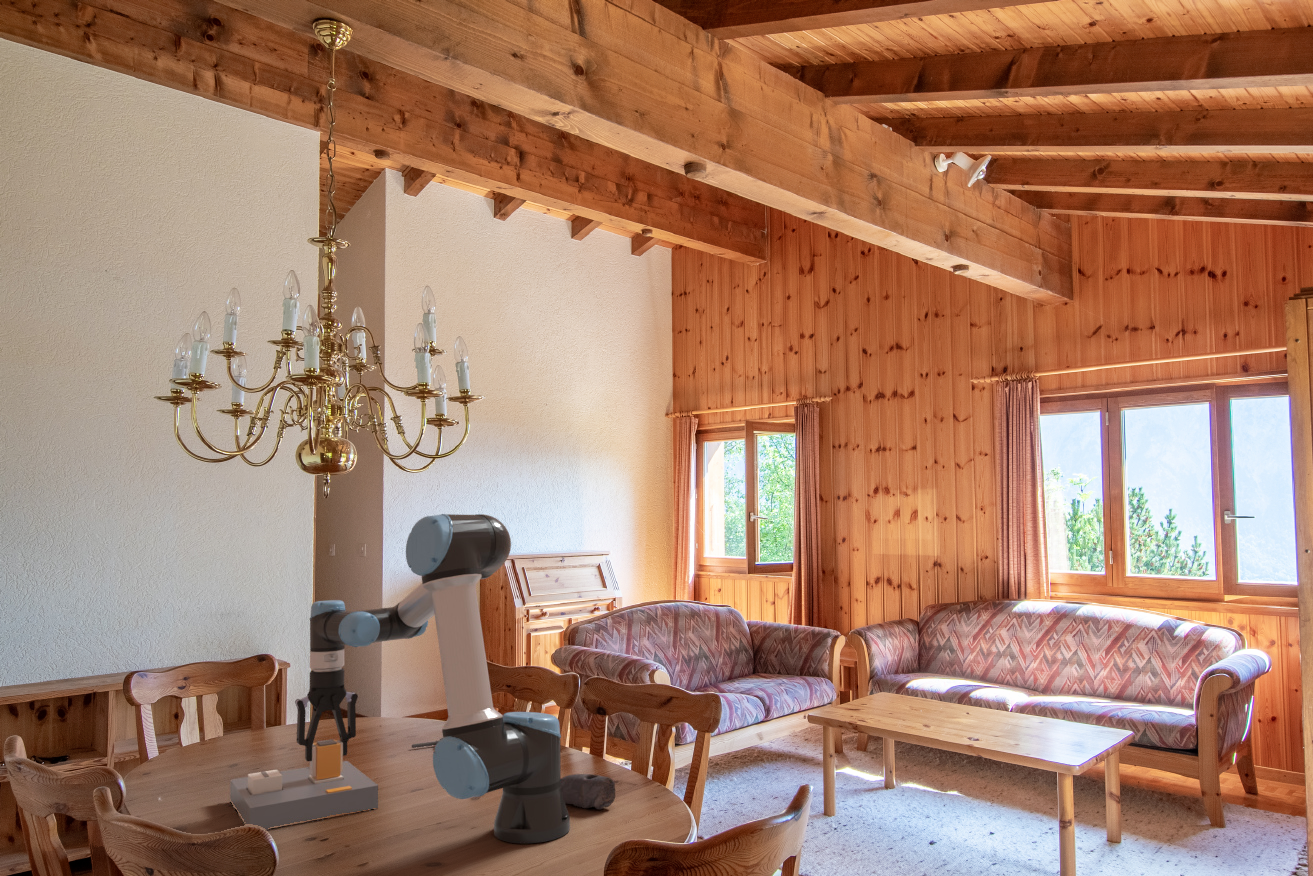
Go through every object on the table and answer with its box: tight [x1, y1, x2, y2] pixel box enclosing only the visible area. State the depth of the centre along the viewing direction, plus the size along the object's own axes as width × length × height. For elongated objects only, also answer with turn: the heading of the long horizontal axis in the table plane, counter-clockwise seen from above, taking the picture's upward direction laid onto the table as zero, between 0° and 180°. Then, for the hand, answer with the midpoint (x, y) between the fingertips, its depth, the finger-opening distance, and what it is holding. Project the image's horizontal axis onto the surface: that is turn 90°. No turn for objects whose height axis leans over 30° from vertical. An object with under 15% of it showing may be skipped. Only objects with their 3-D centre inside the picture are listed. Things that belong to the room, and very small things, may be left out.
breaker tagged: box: [309, 775, 343, 784], centre depth 206 cm, size 6×6×5 cm
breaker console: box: [229, 760, 379, 831], centre depth 203 cm, size 26×26×6 cm
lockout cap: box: [313, 739, 341, 780], centre depth 206 cm, size 5×5×7 cm
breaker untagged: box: [247, 769, 282, 795], centre depth 199 cm, size 6×6×5 cm
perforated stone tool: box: [561, 773, 616, 810], centre depth 198 cm, size 15×5×7 cm, turn 56°
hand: (326, 772), depth 206 cm, fingers open, 5 cm apart
